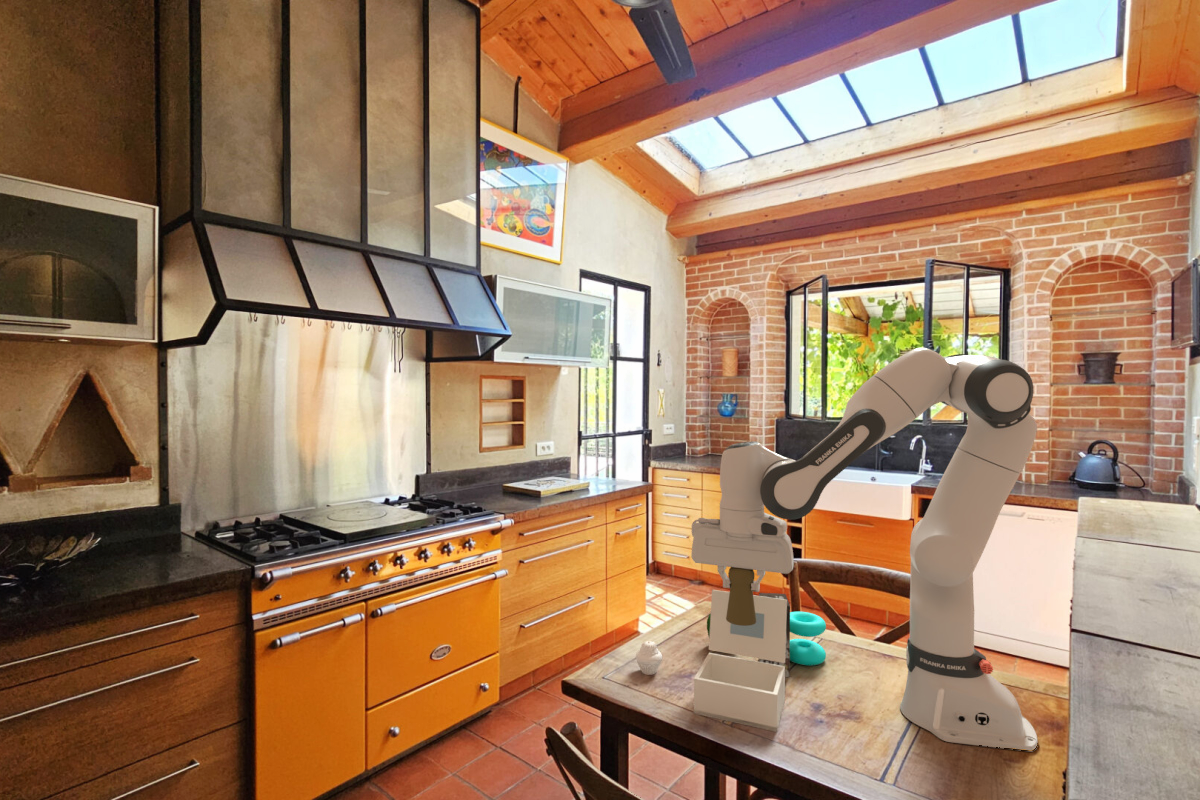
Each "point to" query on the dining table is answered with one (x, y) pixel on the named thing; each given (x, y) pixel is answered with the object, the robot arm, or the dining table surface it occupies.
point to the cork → (741, 597)
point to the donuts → (803, 648)
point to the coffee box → (787, 652)
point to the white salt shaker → (649, 658)
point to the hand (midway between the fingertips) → (741, 589)
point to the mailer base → (740, 691)
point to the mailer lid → (750, 629)
